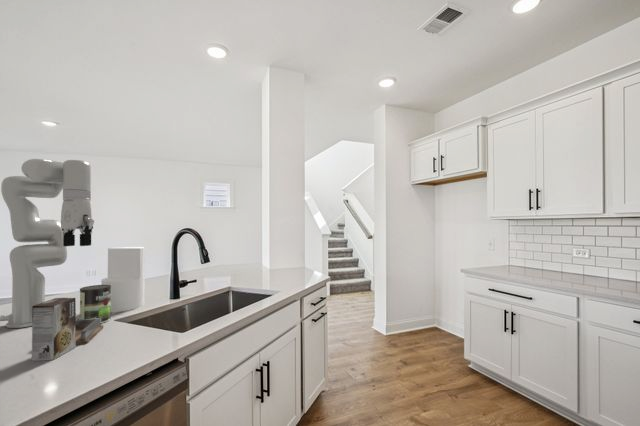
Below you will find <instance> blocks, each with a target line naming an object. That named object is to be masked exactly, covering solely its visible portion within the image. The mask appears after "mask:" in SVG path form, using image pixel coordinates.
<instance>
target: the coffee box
mask: <svg viewBox="0 0 640 426" xmlns="http://www.w3.org/2000/svg"><path fill="white" fill-rule="evenodd" d="M76 305H77V304H76V297H55V298H52V299H50V300H46V301H45V302H43V303H40V304H37V305H34V306H32V326H31V361H32V362H35V361H55V360H56V359H57V358H60V357H61V356H63V355H65V354H67V353H68V352H69V351H71V350H73V349H75V348H76V346H77V345H76V320H77V318H76V316H77V315H76Z"/></svg>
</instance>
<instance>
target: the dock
mask: <svg viewBox="0 0 640 426" xmlns="http://www.w3.org/2000/svg"><path fill="white" fill-rule="evenodd" d="M103 328H104V325H103V324H101V318H92V319H82V320H80V319H76V346H77V345H86V344H88V343H90V342H91V341H92V340H93V339H94V338H95V337H96V336H97V335H98V334H99V333H100V332H101V331H102V330H103Z"/></svg>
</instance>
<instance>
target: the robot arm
mask: <svg viewBox="0 0 640 426" xmlns="http://www.w3.org/2000/svg"><path fill="white" fill-rule="evenodd" d="M21 172H22V174H23V175H20V176H19V175H11V176H7V177H5V178H4V179H3V180H2V182H1V186H0V187H1V188H0V189H1V190H0V192H1V195H2V199H3V201H4V203H5V204H6V206H7V208H8V210H9V216H10V225H11V226H10V227H11V232H12V233H11V234H12V237H13V240H15V242H18V243H34V244H23V245H18V246H16V247H14V248H13V249H11V251H10V252H9V262H10V267H11V275H12V278H11V280H12V283H11V284H12V287H11V288H12V289H11V290H12V291H11V292H12V296H11V314H3V315H0V322H4V321H5V322H7V323H6V324H5V327H6V329H20V328H28V327H32V306H34V305H37V304H40V303H43V302H46V301H45V298H46V297H45V296H46V295H45V294H46V277H45V276H44V274H43V273H42V272H41V271H40V270H39V269H38V268H44V267H55V266H60V265H62V264H65V263H66V261H67V258H68V250H67V249H68V248H67V247H73V246H75V245H76V235H75V234H74V233H75V231H76V230H79V232H80V234H79V246H80V247H86V246H88V247H89V246H92V234H93V229H94V223H95V220H94V219H93V218H92V206H91V196H92V194H91V193H92V192H91V190H92V188H91V183H92V182H91V181H92V180H91V175H92V174H91V164H90V163H89V162H87V161H84V160H79V159H67V160H64V161H63V162H62V161H56V160H51V159H44V158H43V159H41V158H31V159H27V160H26V161H25V160H24V162H23V163H22V165H21ZM61 192H62V204H61V205H62V206H61V212H60V213H61V214H60V221H59V220H56V219H41V218H40V215H39V209H38V207H37V206H36V205H35V204H34V203H33V202H32V201H31V200H29V199H28V198H39V199H40V198H42V199H55V198H56V197H58V196H59V195H60V194H61ZM43 242H44V243H43ZM45 242H46V243H45ZM35 243H36V244H35ZM37 243H38V244H37Z"/></svg>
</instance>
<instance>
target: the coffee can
mask: <svg viewBox="0 0 640 426" xmlns="http://www.w3.org/2000/svg"><path fill="white" fill-rule="evenodd" d="M110 306H111V285H101V284H95V285H88V286H83V287H80V288H79V320H82V319H92V318H101V325H103V324H105V323H108V322H110V321H111V320H112V318H111V312H110Z"/></svg>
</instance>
